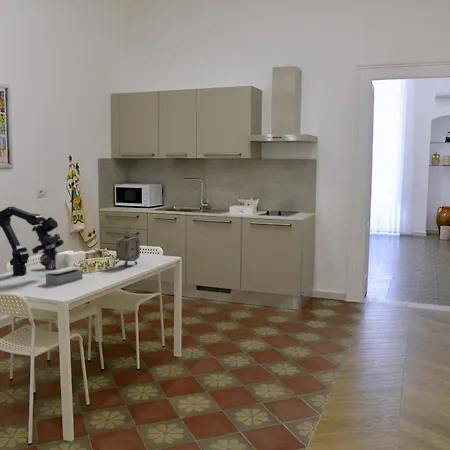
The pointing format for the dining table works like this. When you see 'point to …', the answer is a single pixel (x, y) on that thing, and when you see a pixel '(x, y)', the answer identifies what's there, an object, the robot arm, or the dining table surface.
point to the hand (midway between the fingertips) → (54, 260)
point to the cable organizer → (68, 259)
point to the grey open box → (63, 277)
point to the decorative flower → (48, 261)
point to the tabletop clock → (128, 248)
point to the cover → (63, 270)
